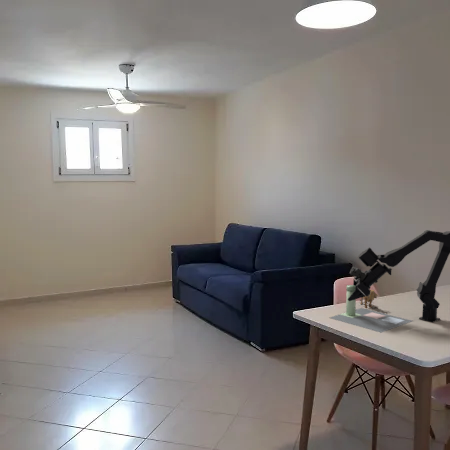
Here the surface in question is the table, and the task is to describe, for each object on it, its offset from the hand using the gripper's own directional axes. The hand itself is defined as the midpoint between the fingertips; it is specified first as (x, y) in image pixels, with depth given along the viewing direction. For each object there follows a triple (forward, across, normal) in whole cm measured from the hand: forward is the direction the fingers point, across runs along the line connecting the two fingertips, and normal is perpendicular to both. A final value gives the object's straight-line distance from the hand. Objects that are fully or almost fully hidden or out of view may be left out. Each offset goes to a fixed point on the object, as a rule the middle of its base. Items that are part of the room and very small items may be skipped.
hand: (347, 297), depth 211 cm
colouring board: (-1, +5, +12) cm, 13 cm away
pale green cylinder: (+4, 0, +6) cm, 8 cm away
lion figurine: (-1, -18, +13) cm, 22 cm away
